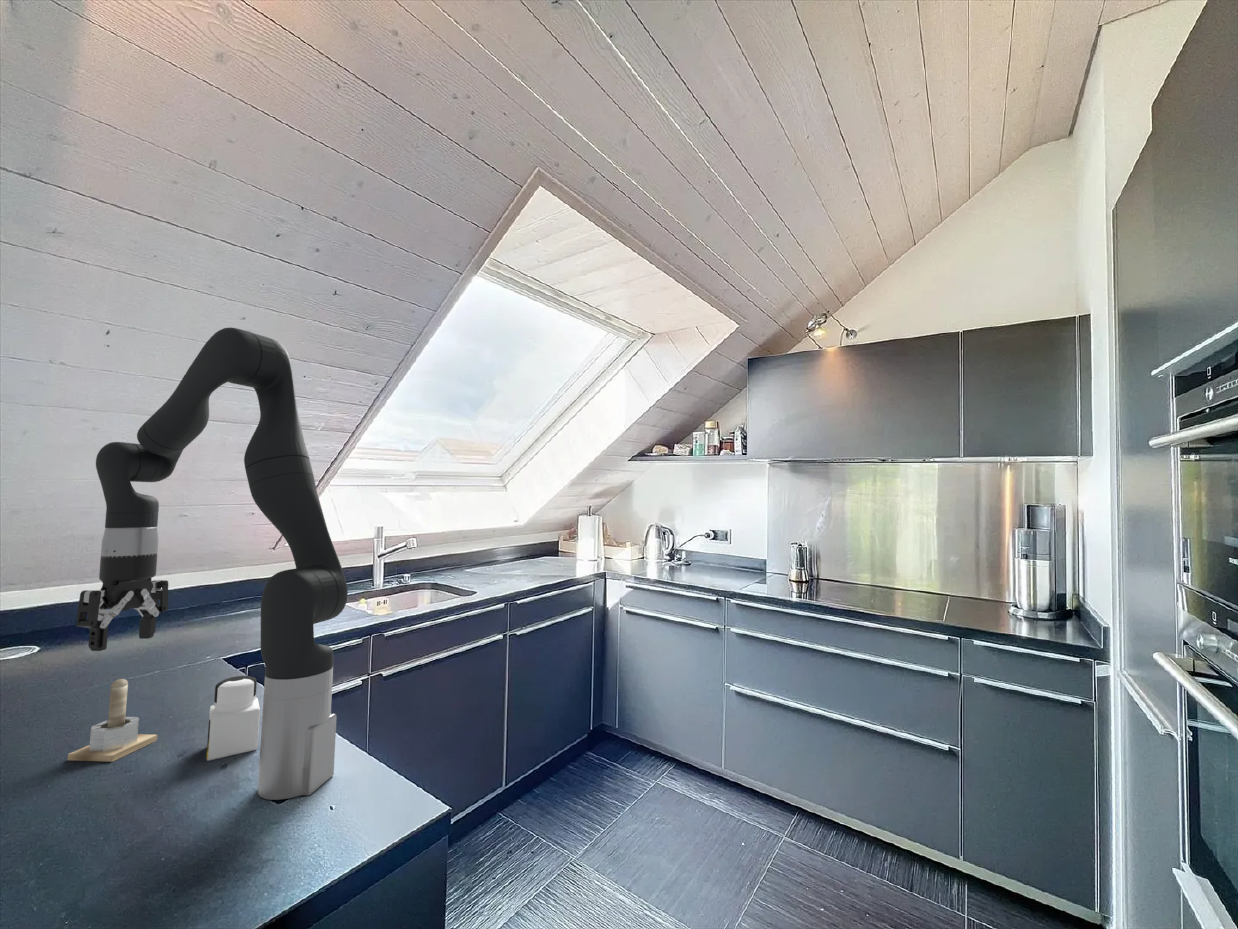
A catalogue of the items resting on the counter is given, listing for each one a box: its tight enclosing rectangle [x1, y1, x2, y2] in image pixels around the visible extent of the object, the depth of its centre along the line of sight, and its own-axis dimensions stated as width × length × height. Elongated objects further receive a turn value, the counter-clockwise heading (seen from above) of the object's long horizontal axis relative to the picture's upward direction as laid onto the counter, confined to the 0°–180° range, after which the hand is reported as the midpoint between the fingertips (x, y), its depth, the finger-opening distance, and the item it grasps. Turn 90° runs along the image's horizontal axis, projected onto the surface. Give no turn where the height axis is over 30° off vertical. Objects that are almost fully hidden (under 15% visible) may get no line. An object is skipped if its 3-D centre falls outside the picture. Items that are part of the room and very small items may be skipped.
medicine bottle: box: [206, 675, 261, 761], centre depth 93 cm, size 7×7×12 cm
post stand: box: [67, 678, 158, 762], centre depth 92 cm, size 8×8×12 cm
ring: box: [89, 716, 140, 753], centre depth 91 cm, size 6×6×4 cm
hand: (123, 644), depth 93 cm, fingers open, 8 cm apart
